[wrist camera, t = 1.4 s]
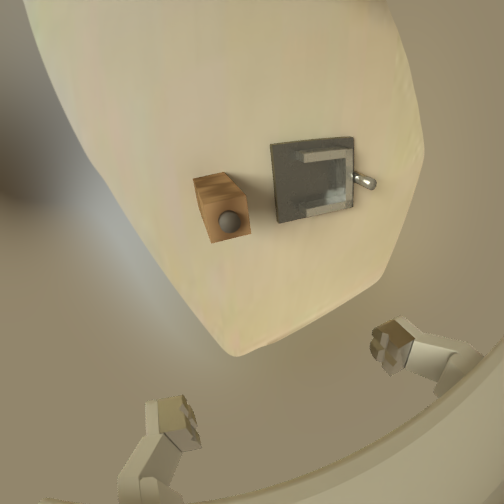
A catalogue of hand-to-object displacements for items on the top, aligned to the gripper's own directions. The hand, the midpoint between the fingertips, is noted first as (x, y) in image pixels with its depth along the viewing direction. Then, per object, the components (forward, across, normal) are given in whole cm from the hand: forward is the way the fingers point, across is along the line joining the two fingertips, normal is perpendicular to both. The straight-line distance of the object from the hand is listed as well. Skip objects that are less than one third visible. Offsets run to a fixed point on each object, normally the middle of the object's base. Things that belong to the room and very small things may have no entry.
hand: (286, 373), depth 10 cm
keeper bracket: (+37, -21, +1) cm, 43 cm away
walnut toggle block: (+37, -2, 0) cm, 37 cm away
